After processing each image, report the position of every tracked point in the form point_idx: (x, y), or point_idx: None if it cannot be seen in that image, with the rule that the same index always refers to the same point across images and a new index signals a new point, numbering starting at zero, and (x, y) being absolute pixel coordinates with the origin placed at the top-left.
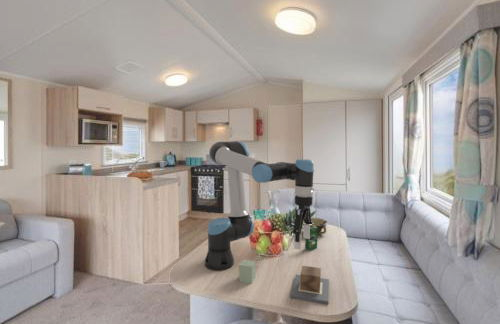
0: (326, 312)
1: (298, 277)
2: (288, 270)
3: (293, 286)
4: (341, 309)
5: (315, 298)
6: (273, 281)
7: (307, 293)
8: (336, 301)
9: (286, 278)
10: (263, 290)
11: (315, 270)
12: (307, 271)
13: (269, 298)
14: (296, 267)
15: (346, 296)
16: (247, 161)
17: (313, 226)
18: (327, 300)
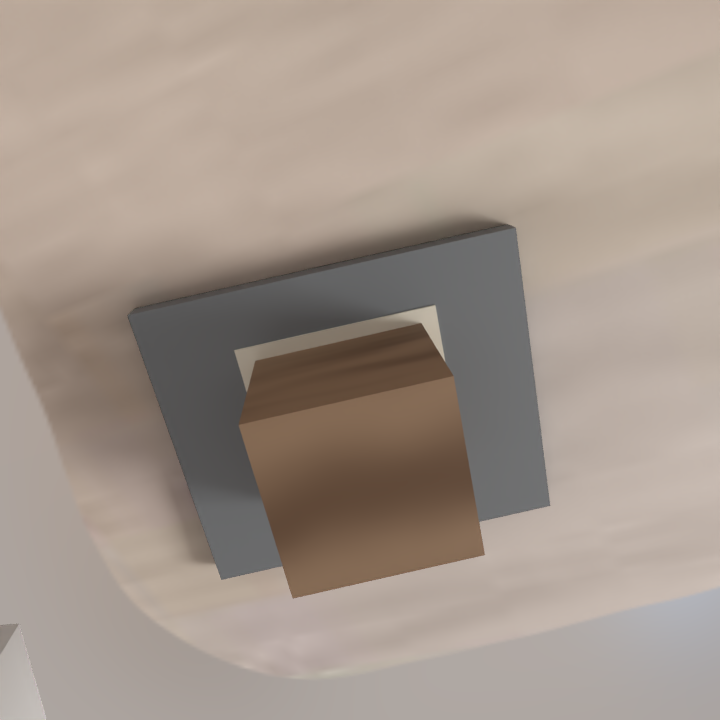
0: (124, 577)
1: (465, 270)
2: (613, 98)
3: (277, 287)
4: (216, 639)
5: (203, 498)
6: (310, 38)
7: (236, 428)
8: (291, 596)
9: (436, 145)
10: (87, 15)
11: (402, 529)
12: (336, 468)
13: (4, 140)
14: (711, 155)
15: (388, 632)
16: None
17: None
18: (228, 572)
